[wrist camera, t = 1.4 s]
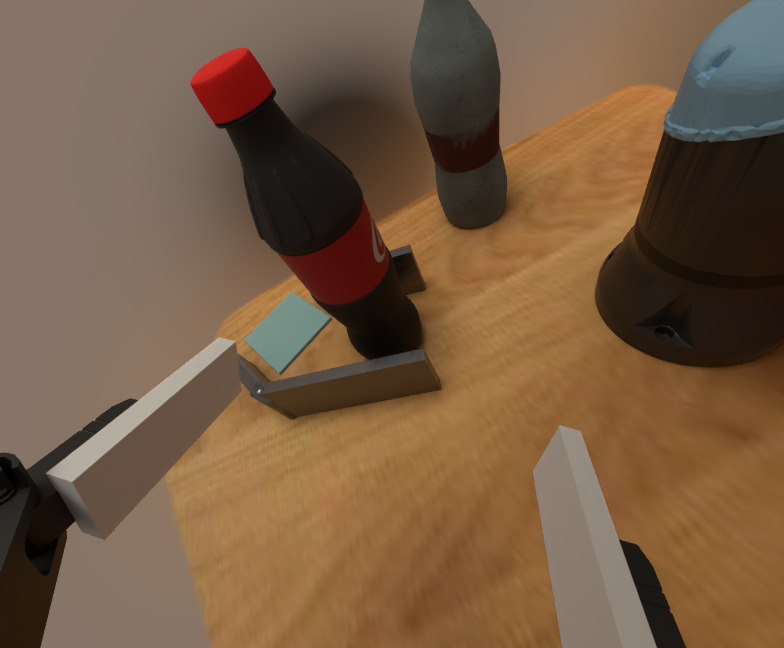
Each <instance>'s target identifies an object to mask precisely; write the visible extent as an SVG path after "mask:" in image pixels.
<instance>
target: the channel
mask: <svg viewBox="0 0 784 648" xmlns="http://www.w3.org/2000/svg"><path fill="white" fill-rule="evenodd" d="M389 252H390V254H391V256H392V258H393V261H394V265H395V269H396V274H397V278H398V282H399V286H400V290H401V293H402V294H404V295H407V294H411V293H414V292H418V291H422V290H426V288H425V282H424V280H423V277H422V275H421V272H420V269H419V267H418V264H417V262H416V259H415V256H414V254H413V251H412V249H411V246H410V245H408V246H405V247H401V248H398V249H395V250H391V251H389ZM237 356H238V364H239V373H240V381H241V382H242V383H243V384H244V386H245V387H246V388H247V389H248V390H249V391H250V395H251V396H252V397H253V398H255V399H256V400H258V401H260V402H262V403H263V404H265V405H267V406H269V407H270V408H272V409H274V410H276V411H277V412H279V413H281V414H283V415H284V416H286V417H288V418H290V419H295V418H297V417H299V416H304V415H309V414H315V413H320V412H325V411H330V410H336V409H341V408H346V407H351V406H357V405H362V404H367V403H372V402H378V401H383V400H388V399H393V398H399V397H404V396H409V395H414V394H420V393H425V392H430V391H435V390H441V386H440V379H439V377H438V375H437V373H436V371H435V370H434V368H433V366H432V364H431V362H430V360H429V358H428V356H427V354H426V352H425V350H424V348H422V349H418V350H413V351H409V352H404V353H400V354H395V355H391V356H386V357H382V358H377V359H373V360H368V361H364V362H359V363H355V364H350V365H346V366H341V367H337V368H332V369H328V370H323V371H319V372H314V373H310V374H305V375H301V376H296V377H292V378H287V379H283V380H278V381H274V382H271V381H270V380H269V379H268V378H267V377H266V376H265V375H264V374H263V373H262V372H261V371H260V370H259V369H258V368H257V367H256V366H255V365H254V364H252V363H251V362H249V361H248V360H246V359H245V358H243V357H242V356H241V355H239V354H238V353H237Z"/></svg>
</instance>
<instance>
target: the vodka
mask: <svg viewBox="0 0 784 648" xmlns="http://www.w3.org/2000/svg"><path fill="white" fill-rule="evenodd" d="M411 83H412V89H413V96H414V103H415V106H416V109H417V111H418V114H419V117H420V119H421V122H422V125H423V128H424V131H425V134H426V137H427V140H428V143H429V146H430V149H431V152H432V155H433V159H434V161H435V171H436V182H437V191H438V197H439V200H440V202H441V205H442V207H443V210H444V212H445V214H446V216H447V218H448V219H449V221H450V222H451V223H452V224H453V225H454V226H457V227H459V228H464V229H474V228H480V227H483V226H485V225H488V224H490V223H491V222H493V221H495V220H496V219H497V218H498V217H499V216H500V215H501V213H502V211H503V209H504V205H505V201H506V192H507V175H506V170H505V166H504V161H503V157H502V153H501V149H500V145H499V101H500V68H499V62H498V56H497V51H496V45H495V42H494V39H493V36H492V33H491V30H490V29H489V28H488V26H487V25H486V24H485V22H484V21H483V20H482V19H481V17H480V16H479V14H478V13H477V12H476V10H475V9H474V8H473V6H472V5H471V4H470V2H469V1H468V0H425V1H424V5H423V10H422V14H421V19H420V23H419V27H418V32H417V36H416V40H415V45H414V49H413V53H412V58H411Z"/></svg>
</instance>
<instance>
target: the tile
mask: <svg viewBox="0 0 784 648" xmlns="http://www.w3.org/2000/svg"><path fill="white" fill-rule="evenodd" d="M330 320H331V317H329V316H328V315H326V314H325V313H323V312H322V311H320V310H319V309H317V308H316V307H314V306H313V305H311V304H309V303H308V302H306V301H305V300H303V299H302V298H300V297H299V296H297V295H296V294H294V293H293V292H291V293H290V294H289V295H288V296H287V297H286V298H285V299H284V300H283V301H282V302H281V303H280V304H279V305H278V306H277V307H276V308H275V309H274V310H273V311H272V312H271V313H270V314H269V315H268V316H267V317H266V318H265V319H264V320H263V321H262V322H261V323H260V324H259V325H258V326H257V327H256V328H255V329H254V330H253V331H252V332H251V333H250V334H249V335H248V336H247V337H246V338H245V339H244V340H245V341H246V342H247V343H248V344H249V345H250V346H251V347H252V348H253V349H254V350H255V351H256V352H257V353H258V354H259V355H260V356H261V357H262V358H263V359H265V360H266V361H267V362H268V363H269V364H270V365H271V366H272V367H273V368H274V369H275V370H276V371H277V372H278V373H279V374H282V373H283V371H284V370H285V369H286V368H287V367H288V366H289V365H290V364H291V363H292V362H293V361H294V360H295V358H296V357H297V356H298V355H299V354H300V353H301V352H302V351H303V350H304V349H305V348H306V346H307V345H308V344H309V343H310V342H311V341H312V340H313V339H314V338H315V337H316V336H317V334H318V333H319V332H320V331H321V330H322V329H323V328H324V327H325V326H326V325H327V324H328V322H329V321H330Z"/></svg>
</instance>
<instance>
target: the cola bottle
mask: <svg viewBox="0 0 784 648" xmlns="http://www.w3.org/2000/svg"><path fill="white" fill-rule="evenodd" d="M191 86H192V88H193V90H194V92H195V94H196V96H197V98H198V99H199V101H200V102H201V104H202V106H203V107H204V108H205V110H206V112H207V113H208V115H209V116H210V118H211V119H212V121H213V122H214V123H215V125H216V127H218V128H221V129H222V128H226V130H227V132H228V134H229V136H230V138H231V140H232V142H233V145H234V147H235V149H236V151H237V153H238V155H239V158H240V161H241V165H242V169H243V174H244V184H245V189H246V194H247V198H248V202H249V206H250V210H251V213H252V216H253V219H254V223H255V226H256V229H257V231H258V234H259V236H260V238H261V239H263V240H265V241H266V243H267V244H268V245H269V246H270V247H271V248H272V249H273V250H274V251H276V252H277V253H278V254H279V256H280V257H281V258H282V259H283V260H284V262H285V263H286V264H287V265H288V266H289V268H290V269H291V270H292V271H293V272H294V274H295V275H296V276H297V277H298V278H299V280H300V281H301V282H302V283H303V284H304V286H305V287H306V288H307V289H308V290H309V292H310V293H311V295H312V297H313V298H314V300H315V301H316V302H317V303H318V304H319V305H320V306H321V307H322V308H323V309H324V310H326V311H327V312H328V313H329V314H331V315H332V316H333V317H334V318H336V319H337V320H338V321H339V322H341V323H342V324H343V325H344V326H346V327H347V332H348V336H349V339H350V341H351V343H352V345H353V346H354V348H355V349H356V350H357V351H358V352H359V353H360V354H361V355H362V356H364V357H365V358H367V359H369V360H373V359H377V358H382V357H386V356H391V355H395V354H400V353H404V352H409V351H413V350H414V348H415V347H416V345H417V343H418V341H419V338H420V332H421V324H420V318H419V314H418V311H417V309H416V307H415V306H414V304H413V303H412V302H411V301H410V299H408V298H407V297H406V296H405V295H404V294H402V293H401V290H400V286H399V282H398V278H397V274H396V269H395V265H394V261H393V258H392V256H391V254H390V252H389V250H388V248H387V247H386V246H385V244H384V242H383V240H382V238H381V235H380V233H379V231H378V229H377V227H376V225H375V223H374V220H373V219H372V217H371V214H370V212H369V210H368V208H367V206H366V203H365V201H364V199H363V194H362V191H361V189H360V186H359V184H358V183H357V181H356V179H355V178H354V177H353V173H352V172H351V170H350V169H349V168H348V167H347V166H346V165H345V164H344V163H343V162H341V160H339V159H338V158H337V157H336V156H335V155H334V154H333V153H331V152H330V151H329V150H328V149H327V148H325V147H324V146H323V145H322V144H321V143H319V142H318V141H317V140H315V139H314V138H313V137H311V136H310V135H308V134H307V133H304V132H302V131H301V130H300V129H298V128H297V127H296V126H295V125H294V124H293V123H292V122H291V121H290V120H289V118H288V117H287V116H286V115H285V114H284V112H283V111H282V110H281V109H280V107H279V106H278V105H277V104H276V102H275V101H274V100H273V98H274V97H275V95H276V90H275V88H273V86H272V84H271V82H270V80H269V79H268V77H267V76H266V74H265V72H264V71H263V69H262V68H261V66H260V64H259V63H258V62H257V60H256V59H255V57H254V56H253V54H252V53H251V52H250V51H249V50H248V49H247V48H238V49H234V50H231V51H229V52H226V53H224V54H222V55H220V56H218V57H216V58H215V59H213V60H211V61H210V62H209V63H207V64H206V65H204V66H203V67H202V68H201V69H200V70H199V71H198V72H197V73H196V74H195V75H194V76H193V78H192V80H191Z"/></svg>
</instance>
